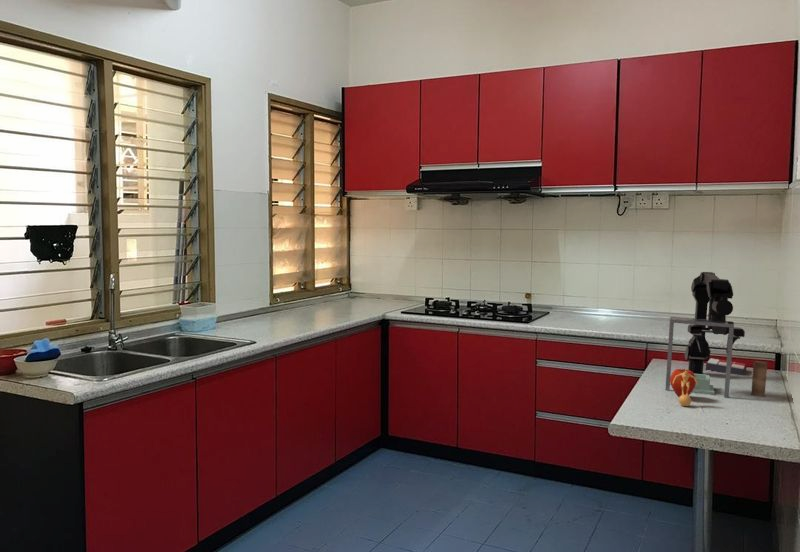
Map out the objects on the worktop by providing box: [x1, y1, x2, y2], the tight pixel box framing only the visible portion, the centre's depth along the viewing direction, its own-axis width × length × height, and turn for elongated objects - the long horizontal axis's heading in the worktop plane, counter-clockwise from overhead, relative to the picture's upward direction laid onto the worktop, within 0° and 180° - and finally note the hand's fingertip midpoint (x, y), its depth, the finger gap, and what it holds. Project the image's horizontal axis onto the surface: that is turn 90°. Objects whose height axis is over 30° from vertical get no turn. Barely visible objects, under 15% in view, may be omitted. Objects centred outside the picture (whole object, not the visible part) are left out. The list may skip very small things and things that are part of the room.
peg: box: [750, 360, 768, 398], centre depth 238 cm, size 4×4×12 cm
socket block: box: [691, 374, 715, 396], centre depth 245 cm, size 12×12×5 cm
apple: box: [670, 368, 696, 398], centre depth 231 cm, size 9×8×11 cm
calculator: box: [704, 357, 747, 376], centre depth 279 cm, size 11×4×15 cm
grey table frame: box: [665, 316, 735, 399], centre depth 240 cm, size 8×21×27 cm, turn 66°
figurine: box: [672, 371, 698, 407], centre depth 222 cm, size 8×6×12 cm
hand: (714, 353), depth 242 cm, fingers open, 9 cm apart
